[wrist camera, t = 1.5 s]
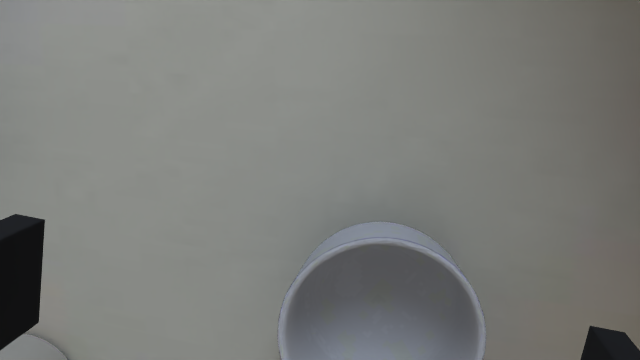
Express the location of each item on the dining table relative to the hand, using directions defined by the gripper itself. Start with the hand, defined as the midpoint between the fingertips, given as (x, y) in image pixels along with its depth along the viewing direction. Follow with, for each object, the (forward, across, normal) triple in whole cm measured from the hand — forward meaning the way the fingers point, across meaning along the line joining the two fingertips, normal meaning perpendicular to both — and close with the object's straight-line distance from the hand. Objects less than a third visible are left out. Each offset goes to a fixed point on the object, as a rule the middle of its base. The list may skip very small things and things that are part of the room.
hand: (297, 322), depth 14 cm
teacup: (+24, +4, -9) cm, 26 cm away
